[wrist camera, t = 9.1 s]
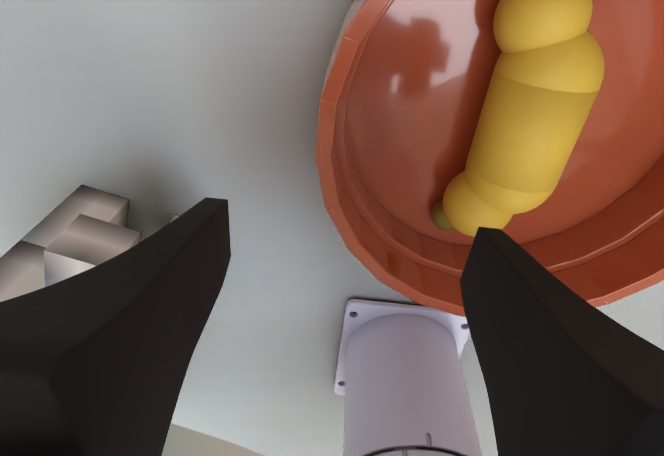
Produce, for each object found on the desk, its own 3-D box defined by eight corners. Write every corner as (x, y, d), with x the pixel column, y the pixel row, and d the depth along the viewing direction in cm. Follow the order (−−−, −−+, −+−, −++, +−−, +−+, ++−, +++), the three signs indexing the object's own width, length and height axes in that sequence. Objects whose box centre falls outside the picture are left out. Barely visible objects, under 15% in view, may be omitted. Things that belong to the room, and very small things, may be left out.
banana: (510, 227, 22) (535, 274, 19) (426, 218, 22) (437, 263, 19) (620, -46, 15) (686, -42, 12) (499, -60, 15) (534, -59, 12)
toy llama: (227, 192, 23) (-121, 880, 6) (178, 379, 32) (-9, 844, 16) (82, 144, 21) (-824, 833, 5) (76, 353, 31) (-242, 825, 15)
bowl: (607, 269, 24) (658, 337, 20) (313, 238, 24) (304, 300, 20) (832, -104, 15) (1016, -118, 11) (347, -159, 14) (342, -197, 10)
